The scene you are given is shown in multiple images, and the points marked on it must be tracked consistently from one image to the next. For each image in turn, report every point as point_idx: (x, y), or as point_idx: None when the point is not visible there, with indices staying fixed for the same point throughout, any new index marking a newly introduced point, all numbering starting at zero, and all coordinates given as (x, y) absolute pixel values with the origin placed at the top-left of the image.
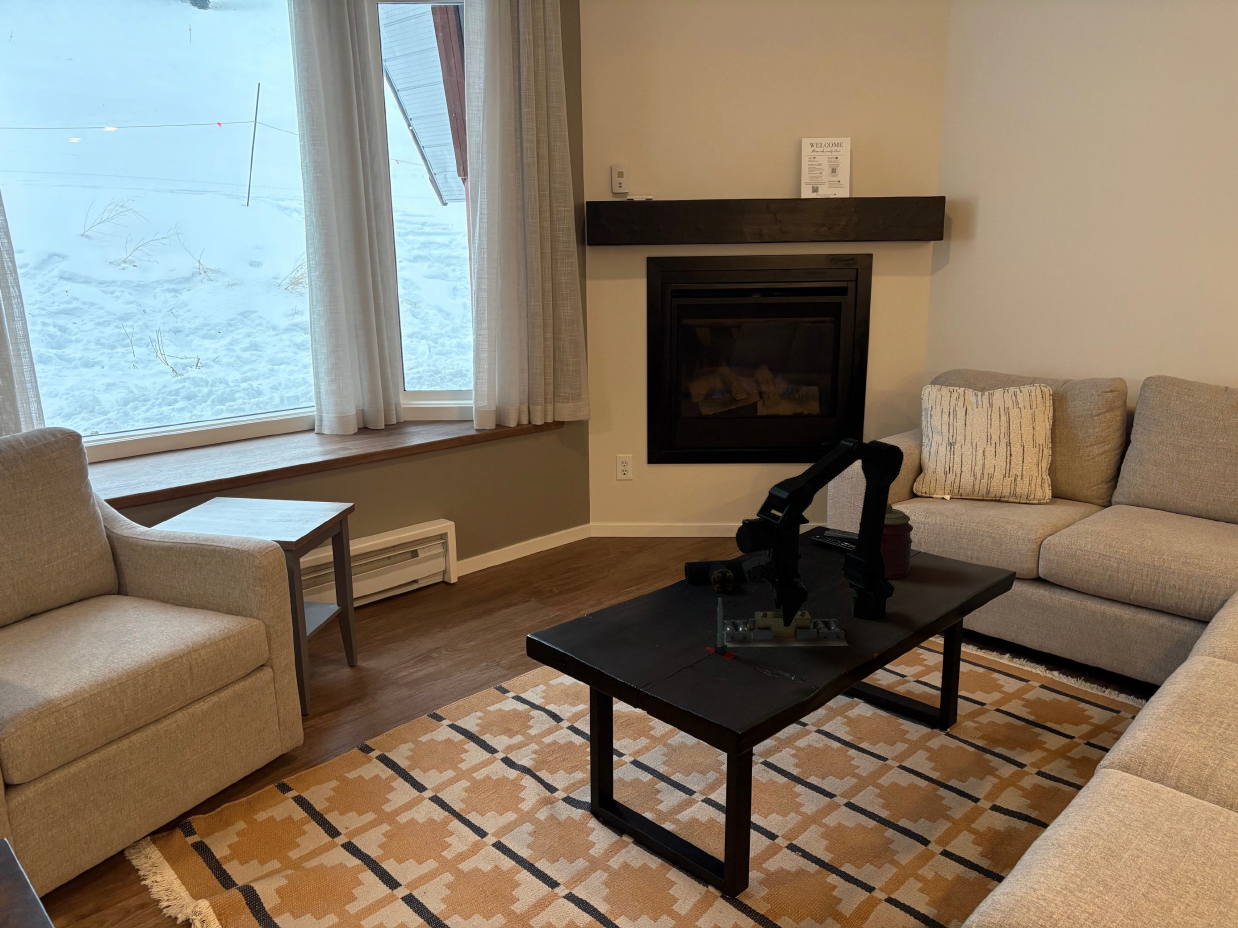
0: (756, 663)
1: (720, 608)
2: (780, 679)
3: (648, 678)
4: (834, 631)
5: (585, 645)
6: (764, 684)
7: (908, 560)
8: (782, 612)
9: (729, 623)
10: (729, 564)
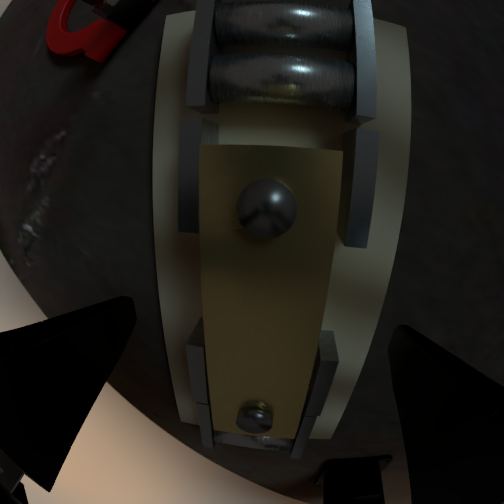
0: (80, 130)
1: None
2: (20, 194)
3: None
4: (203, 432)
5: None
6: (7, 152)
7: None
8: (35, 323)
9: (326, 16)
10: None
